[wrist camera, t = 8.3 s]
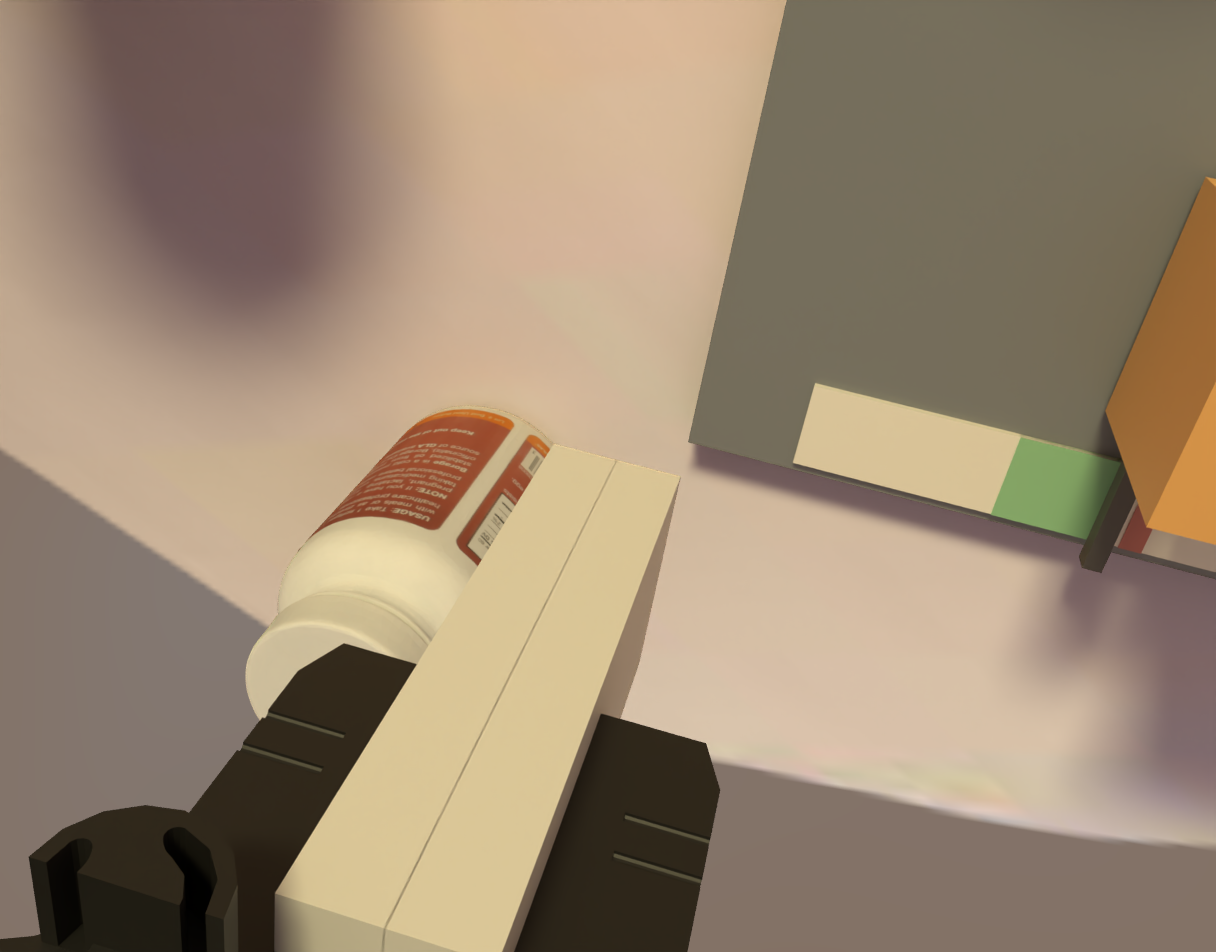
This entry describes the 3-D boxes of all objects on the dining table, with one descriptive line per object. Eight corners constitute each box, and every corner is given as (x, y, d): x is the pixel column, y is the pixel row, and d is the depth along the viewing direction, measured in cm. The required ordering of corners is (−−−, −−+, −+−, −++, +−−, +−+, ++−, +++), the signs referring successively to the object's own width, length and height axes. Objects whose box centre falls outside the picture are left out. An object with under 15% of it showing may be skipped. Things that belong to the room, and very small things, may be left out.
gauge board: (695, 424, 33) (621, 598, 25) (814, -104, 26) (765, -100, 18) (1371, 599, 30) (1535, 856, 22) (1704, 64, 23) (2117, 156, 15)
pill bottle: (371, 505, 37) (182, 717, 28) (442, 362, 34) (256, 546, 24) (531, 601, 37) (397, 845, 28) (616, 467, 34) (499, 690, 25)
